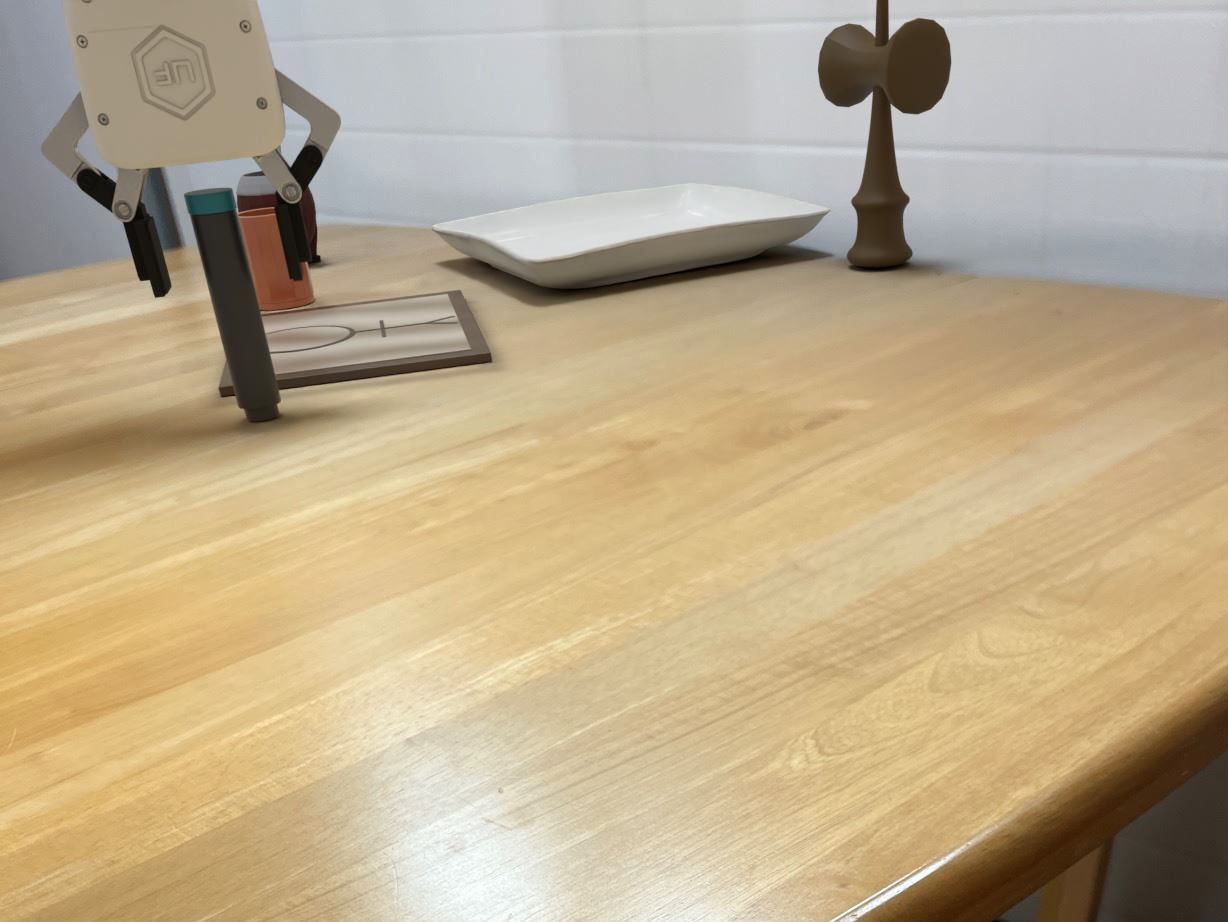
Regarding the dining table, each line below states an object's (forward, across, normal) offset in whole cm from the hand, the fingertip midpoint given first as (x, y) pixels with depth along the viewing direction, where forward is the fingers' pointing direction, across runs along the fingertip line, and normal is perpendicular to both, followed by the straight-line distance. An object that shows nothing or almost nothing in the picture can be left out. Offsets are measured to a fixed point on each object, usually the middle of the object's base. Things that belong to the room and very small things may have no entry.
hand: (230, 282), depth 79 cm
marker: (+8, 0, 0) cm, 8 cm away
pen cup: (+8, 0, +38) cm, 39 cm away
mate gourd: (+8, 0, +58) cm, 59 cm away
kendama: (+8, +48, +23) cm, 54 cm away
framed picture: (+8, +6, +19) cm, 21 cm away
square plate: (+8, +30, +40) cm, 50 cm away
